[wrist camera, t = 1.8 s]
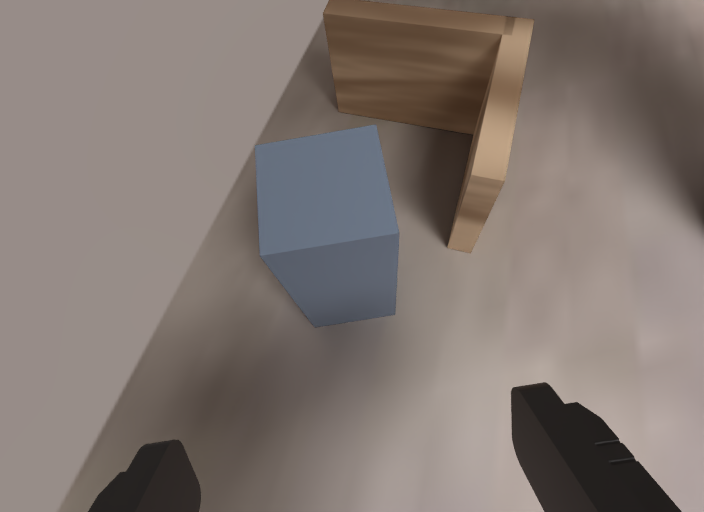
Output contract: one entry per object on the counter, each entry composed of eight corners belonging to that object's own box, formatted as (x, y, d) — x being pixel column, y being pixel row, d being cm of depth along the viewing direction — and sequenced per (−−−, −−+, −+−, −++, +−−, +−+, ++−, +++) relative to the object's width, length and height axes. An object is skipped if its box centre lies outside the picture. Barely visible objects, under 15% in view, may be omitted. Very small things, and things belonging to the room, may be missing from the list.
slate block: (381, 242, 26) (375, 124, 16) (395, 314, 24) (399, 232, 14) (307, 254, 26) (254, 145, 16) (314, 327, 24) (259, 256, 14)
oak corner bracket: (470, 253, 25) (504, 181, 17) (297, 213, 27) (263, 135, 20) (497, 122, 29) (534, 19, 21) (344, 97, 31) (330, -3, 24)
